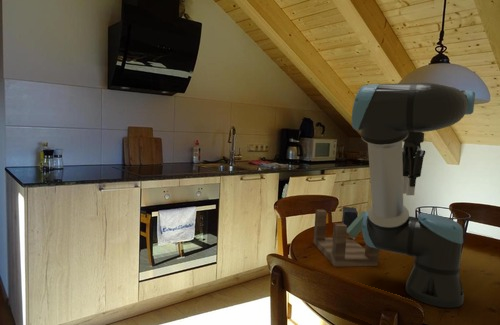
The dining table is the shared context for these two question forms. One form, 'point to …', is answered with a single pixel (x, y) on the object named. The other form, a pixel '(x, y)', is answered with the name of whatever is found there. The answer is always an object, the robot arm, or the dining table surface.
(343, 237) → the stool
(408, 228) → the robot arm
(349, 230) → the green rectangular block
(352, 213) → the small box
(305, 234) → the dining table surface
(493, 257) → the dining table surface
